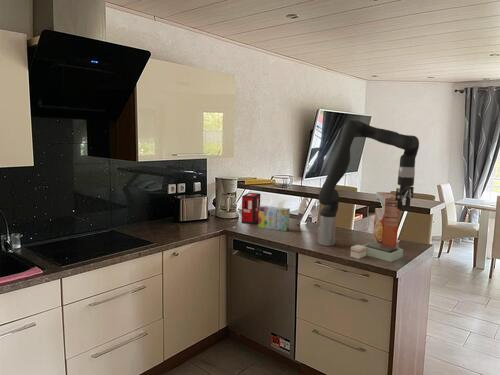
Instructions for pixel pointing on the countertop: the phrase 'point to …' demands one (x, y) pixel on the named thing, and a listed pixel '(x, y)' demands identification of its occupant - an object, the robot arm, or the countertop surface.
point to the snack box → (274, 218)
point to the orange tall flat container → (386, 219)
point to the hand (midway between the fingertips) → (403, 207)
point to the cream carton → (358, 251)
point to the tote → (383, 253)
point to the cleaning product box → (250, 208)
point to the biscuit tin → (383, 247)
